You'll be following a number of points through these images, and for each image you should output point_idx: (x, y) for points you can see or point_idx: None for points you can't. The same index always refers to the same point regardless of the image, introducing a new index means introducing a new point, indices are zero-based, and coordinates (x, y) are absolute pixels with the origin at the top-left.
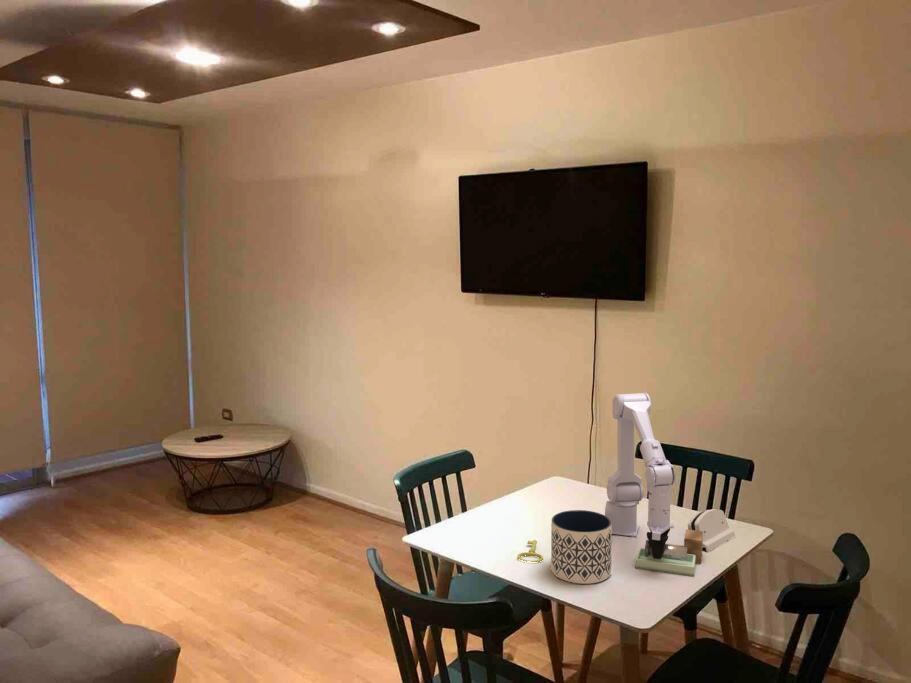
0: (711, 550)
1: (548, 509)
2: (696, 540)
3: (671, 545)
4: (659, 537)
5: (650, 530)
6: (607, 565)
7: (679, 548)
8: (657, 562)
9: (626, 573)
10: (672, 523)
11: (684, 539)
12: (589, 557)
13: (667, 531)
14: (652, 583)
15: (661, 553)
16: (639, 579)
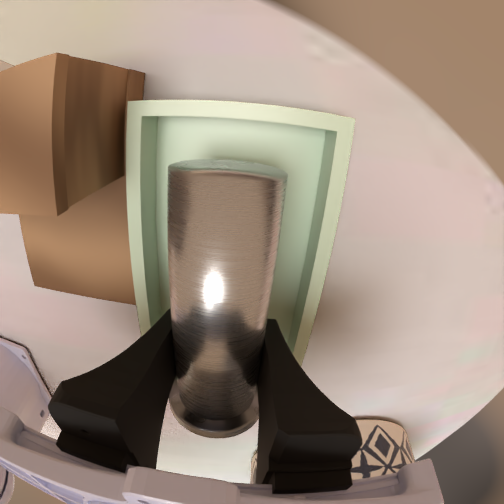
0: (3, 62)
1: None
2: (54, 101)
3: (210, 315)
4: (435, 478)
5: (155, 464)
6: (393, 453)
7: (244, 251)
8: (311, 330)
9: (337, 389)
10: (125, 498)
11: (61, 212)
12: None
13: (127, 410)
14: (420, 312)
15: (285, 345)
16: (386, 353)
